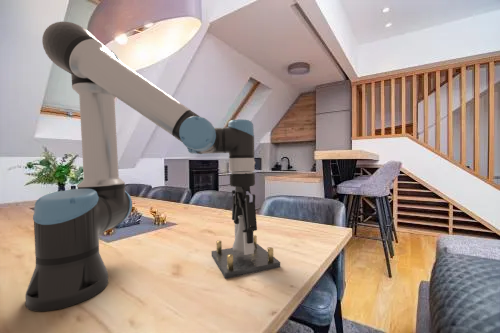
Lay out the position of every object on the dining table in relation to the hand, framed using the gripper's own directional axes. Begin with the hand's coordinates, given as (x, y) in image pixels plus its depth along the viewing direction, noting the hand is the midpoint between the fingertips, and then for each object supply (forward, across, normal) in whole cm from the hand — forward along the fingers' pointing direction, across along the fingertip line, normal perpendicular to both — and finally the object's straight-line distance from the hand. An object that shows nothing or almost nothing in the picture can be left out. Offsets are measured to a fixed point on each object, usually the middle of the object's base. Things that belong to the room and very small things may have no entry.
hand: (243, 248), depth 69 cm
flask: (0, 0, 0) cm, 0 cm away
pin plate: (+4, 0, 0) cm, 4 cm away
